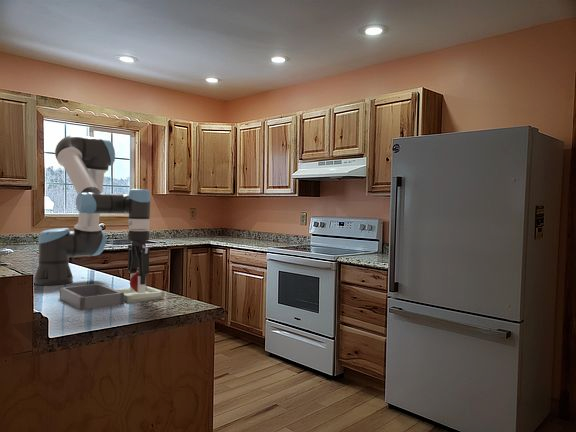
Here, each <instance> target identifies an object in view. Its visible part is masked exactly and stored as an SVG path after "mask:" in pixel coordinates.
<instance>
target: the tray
mask: <svg viewBox="0 0 576 432" xmlns="http://www.w3.org/2000/svg"><path fill="white" fill-rule="evenodd" d="M116 290H117V291H120V292H123V293H124V303H126V304H130V303H138V302H139V303H140V302H146V301H147V302H148V301H153V300H154V301H155V300H162V299H164V297H165V295H164V294H165V292H164V291H162V290H160V289H156V288H154V287H150V286H147V285H146V289H145V293H138V292H136V291H135V290H132V291H131V290H130V287H129V288H118V289H116Z"/></svg>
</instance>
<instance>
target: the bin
mask: <svg viewBox="0 0 576 432" xmlns="http://www.w3.org/2000/svg"><path fill="white" fill-rule="evenodd" d="M59 299H60V300H61V301H64V302H66V303H67V304H68V305H70V306H72V307H74V308H75V309H78V310H79V311H85V310H92V309H100V308H107V307H114V306H121V304H123V305H124V304H125V302H124V293H123V292H120V291H117V289H115V288H112V287H110V286H107V285H105V284H101V283H92V284H84V285H74V286H63V287H59Z"/></svg>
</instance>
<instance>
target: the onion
mask: <svg viewBox="0 0 576 432" xmlns="http://www.w3.org/2000/svg"><path fill="white" fill-rule="evenodd" d="M138 274H139V270H138V271H137V272H136V274H135V275H133V276H132V278H131V279H130V280H129V287H130V286H131V288H133V289H134V290H135V291H136V292H138V276H137V275H138Z"/></svg>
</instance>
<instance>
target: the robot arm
mask: <svg viewBox="0 0 576 432" xmlns="http://www.w3.org/2000/svg"><path fill="white" fill-rule="evenodd" d="M54 152H55V153H54V155H55V159H56V161H57V163H58V164H59V165H60V166H61V167H63V169H64V170H65V172H66V174H67V176H68V178H69V180H70V182H71V184H72V186H73V187H74V189H75V190H74V191H75V192H76V193H77V195H76V198H75V205H76V210H77V211H78V221H77V223H76V224H75V225H73V231H72V230H70V228H69V227H62V228H59V227H58V228H51V229H45V230H42V231H41V232H40V233H39V235H38V265H37V266H38V267H37V268H36V271H35V273H34V277H33V284H34V283H35V284H34V285H38V286H56V285H57V286H59V285H64V284H65V285H66V284H70V283H72V282H73V281H74V280H73V279H74V276H73V273H72V271H71V267H70V265H69V264H70V261H69V258H81V257H89V258H90V257H93V256H94V257H95V256H99V255H101V253H103V251H104V250H105V247H106V242H107V240H106V233H105V231H103V230H102V229H103V228H102V226H101V225H99V224H100V217H101V216H100V214H118V215H119V214H125V215H127V214H128V221H127V224H128V232H127V233H128V234H127V239H128V241H129V242H131V244H129V245H127V250H128V255H127V271H129V273H130V274H129V275H130V277H129V278H130V279H131V278H132V276H133V275H135V274H136V272H137V271H139V274H138V275H137V276H138V293H145V289H146V286H147V280H146V279H147V275H149V274H150V251H151V250H150V249H151V248H150V247H147V244H146V242H148V241H149V240H150V231H149V229H151V227H150V226H151V225H150V224H151V221H150V220H151V219H150V216H151V215H150V213H151V192H150V190H149V189H143V188H140V189H139V188H131V189H129V192H128V194H127V193H123V194H122V193H103V187H104V179H105V178H104V177H105V173H106V172H107V171H109V167H111V166H113V165H114V164H115V161H116V160H115V159H116V152H115V148H114V145H113V143H112V142H111V140H110V139H107V138H102V137H96V136H95V137H93V136H85V135H79V134H78V135H77V134H72V135H66V136H65V137H63V138H62V139H61V140H60V141H59V142H57V144H56V146H55V150H54ZM129 288H130V290H131V291H132V290H134V289H133V288H131V286H130V285H129Z"/></svg>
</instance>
